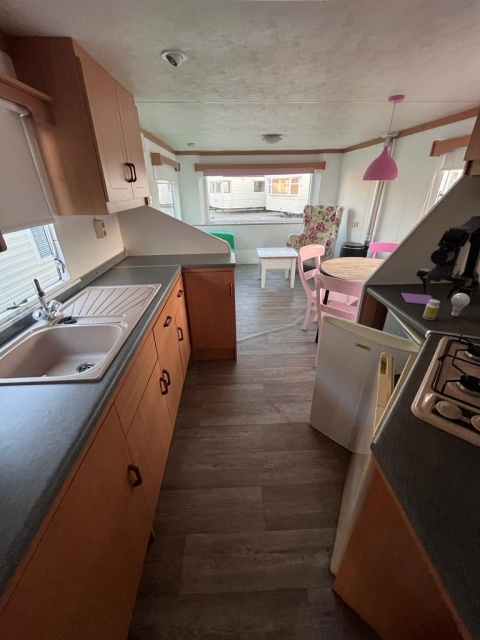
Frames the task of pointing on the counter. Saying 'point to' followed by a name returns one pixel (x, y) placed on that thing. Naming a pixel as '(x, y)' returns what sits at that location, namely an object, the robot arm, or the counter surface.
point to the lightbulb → (459, 303)
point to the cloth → (416, 298)
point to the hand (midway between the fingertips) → (436, 296)
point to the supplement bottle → (431, 309)
